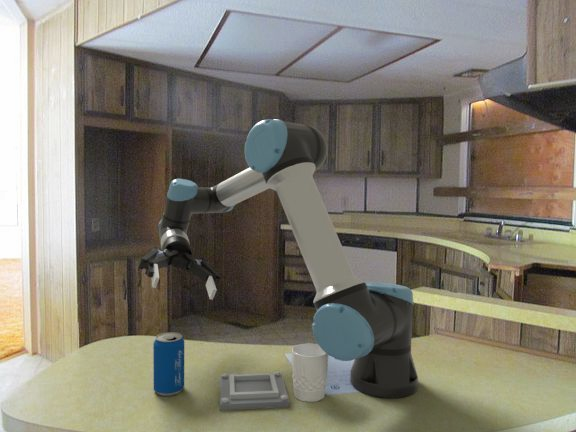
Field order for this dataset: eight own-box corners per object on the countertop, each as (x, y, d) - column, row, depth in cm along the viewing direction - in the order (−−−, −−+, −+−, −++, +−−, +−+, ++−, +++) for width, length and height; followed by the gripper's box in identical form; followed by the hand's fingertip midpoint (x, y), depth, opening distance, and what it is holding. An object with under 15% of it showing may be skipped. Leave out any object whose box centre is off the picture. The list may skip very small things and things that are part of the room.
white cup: (302, 406, 96) (303, 358, 95) (284, 391, 103) (285, 346, 102) (334, 399, 100) (335, 352, 99) (315, 384, 107) (316, 341, 106)
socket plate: (281, 378, 110) (281, 369, 109) (289, 407, 96) (289, 396, 96) (220, 380, 108) (220, 371, 107) (219, 410, 94) (219, 399, 94)
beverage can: (166, 400, 98) (166, 343, 97) (147, 391, 102) (147, 337, 101) (190, 389, 103) (190, 336, 102) (171, 381, 107) (171, 329, 106)
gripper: (214, 270, 132) (229, 312, 113) (124, 249, 121) (124, 292, 103) (224, 246, 130) (241, 285, 112) (133, 223, 120) (135, 262, 101)
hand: (185, 288), depth 107 cm, fingers open, 13 cm apart
